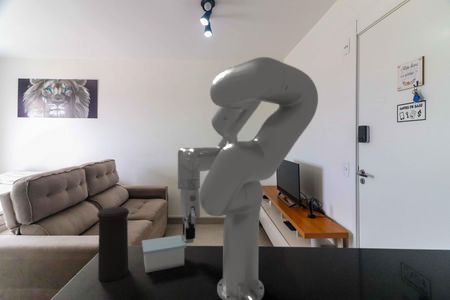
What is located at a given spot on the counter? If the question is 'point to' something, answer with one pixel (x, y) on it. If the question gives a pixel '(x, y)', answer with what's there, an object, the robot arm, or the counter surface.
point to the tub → (164, 260)
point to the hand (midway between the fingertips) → (188, 236)
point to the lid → (165, 243)
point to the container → (113, 243)
